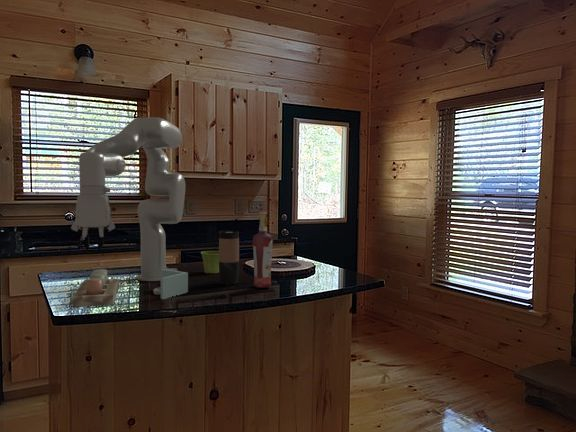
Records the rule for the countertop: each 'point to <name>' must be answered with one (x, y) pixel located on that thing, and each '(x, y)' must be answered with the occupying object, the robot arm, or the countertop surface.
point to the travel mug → (228, 257)
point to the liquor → (262, 254)
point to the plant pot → (211, 261)
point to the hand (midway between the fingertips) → (93, 248)
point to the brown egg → (94, 286)
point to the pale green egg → (99, 277)
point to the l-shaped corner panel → (172, 283)
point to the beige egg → (101, 271)
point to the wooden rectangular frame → (93, 300)
